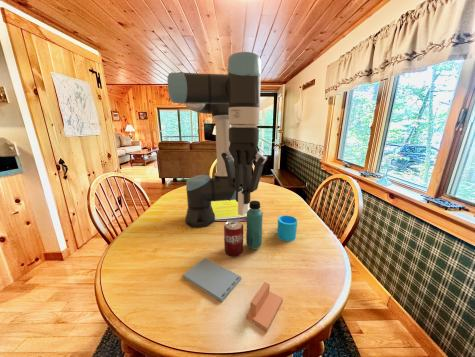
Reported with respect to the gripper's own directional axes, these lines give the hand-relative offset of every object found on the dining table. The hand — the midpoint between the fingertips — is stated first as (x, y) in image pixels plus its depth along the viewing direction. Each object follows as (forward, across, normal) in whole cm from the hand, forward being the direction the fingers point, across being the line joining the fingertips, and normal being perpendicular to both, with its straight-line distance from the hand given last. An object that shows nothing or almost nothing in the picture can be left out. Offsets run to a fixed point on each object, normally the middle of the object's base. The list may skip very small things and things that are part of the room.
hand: (242, 213), depth 54 cm
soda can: (+25, -11, +11) cm, 29 cm away
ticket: (+24, -9, -4) cm, 26 cm away
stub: (+24, +10, -4) cm, 27 cm away
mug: (+25, +1, +35) cm, 43 cm away
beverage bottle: (+25, -6, +18) cm, 31 cm away
